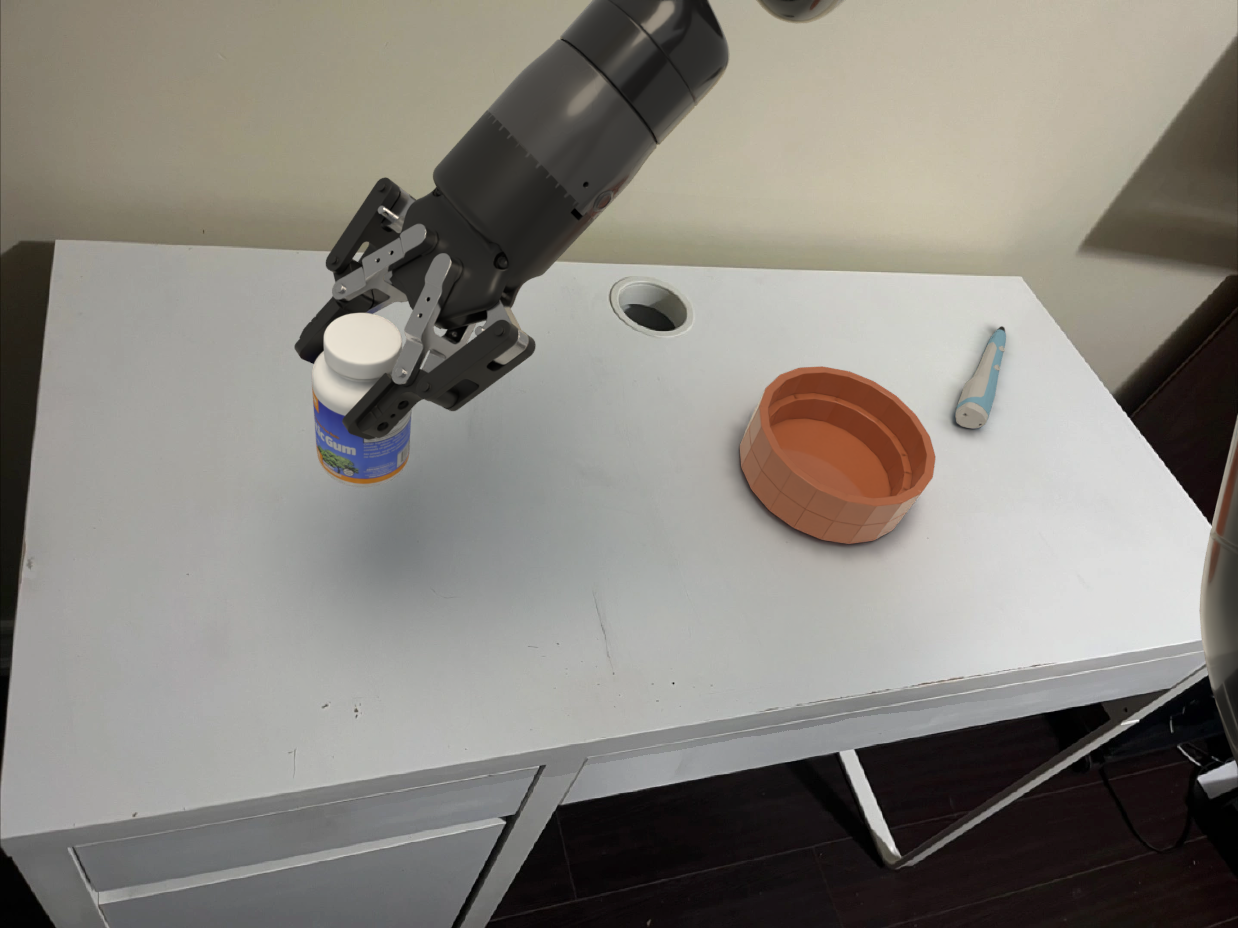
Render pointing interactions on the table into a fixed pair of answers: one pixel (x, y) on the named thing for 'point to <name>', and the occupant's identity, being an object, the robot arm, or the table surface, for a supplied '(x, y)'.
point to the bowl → (835, 454)
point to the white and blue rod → (982, 385)
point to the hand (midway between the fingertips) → (332, 393)
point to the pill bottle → (356, 400)
